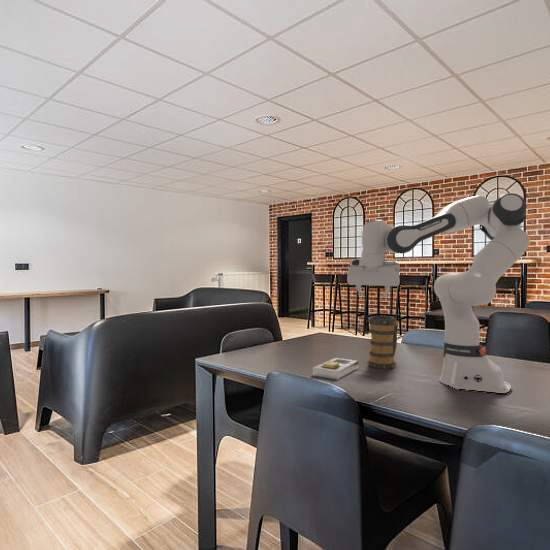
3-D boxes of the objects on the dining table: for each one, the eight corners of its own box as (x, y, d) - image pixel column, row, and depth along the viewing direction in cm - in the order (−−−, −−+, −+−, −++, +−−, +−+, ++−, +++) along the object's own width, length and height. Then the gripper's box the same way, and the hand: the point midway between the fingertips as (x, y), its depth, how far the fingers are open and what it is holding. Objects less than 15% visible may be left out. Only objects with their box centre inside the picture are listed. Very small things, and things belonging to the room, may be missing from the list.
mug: (359, 365, 170) (360, 317, 170) (383, 359, 181) (384, 314, 181) (386, 371, 160) (386, 320, 160) (409, 364, 172) (410, 317, 171)
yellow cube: (333, 377, 152) (334, 365, 151) (322, 375, 154) (323, 363, 154) (338, 374, 155) (338, 362, 155) (328, 372, 158) (328, 361, 158)
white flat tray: (358, 368, 165) (358, 360, 164) (337, 379, 148) (337, 371, 148) (335, 364, 170) (335, 357, 170) (312, 375, 153) (312, 367, 153)
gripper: (402, 261, 156) (401, 297, 157) (351, 261, 168) (351, 295, 168) (397, 261, 151) (396, 298, 151) (345, 261, 162) (345, 296, 163)
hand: (372, 297), depth 160 cm, fingers open, 8 cm apart
